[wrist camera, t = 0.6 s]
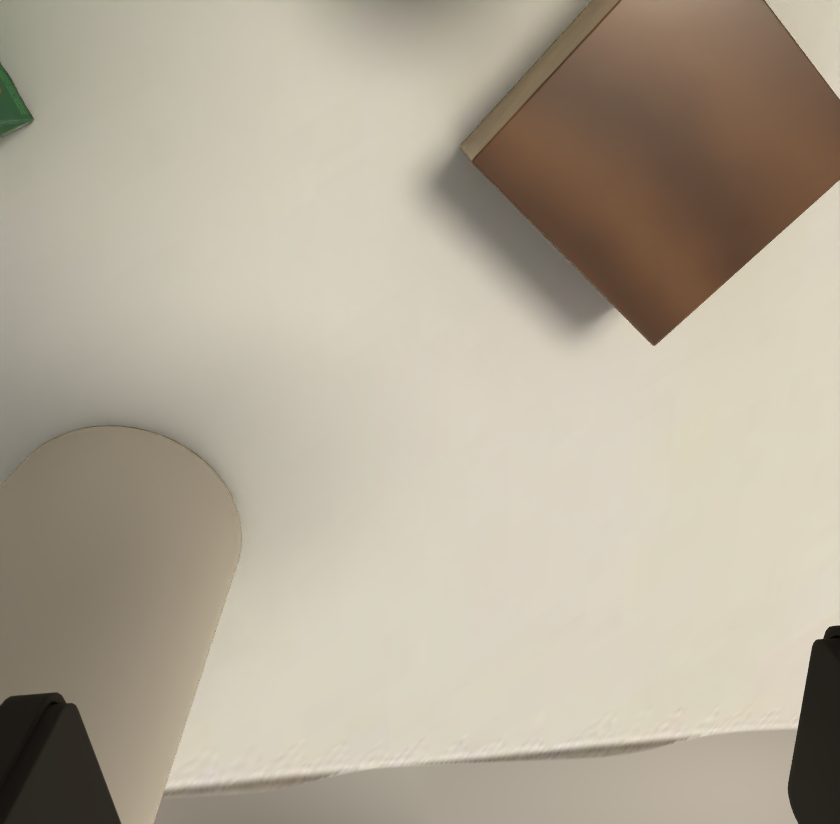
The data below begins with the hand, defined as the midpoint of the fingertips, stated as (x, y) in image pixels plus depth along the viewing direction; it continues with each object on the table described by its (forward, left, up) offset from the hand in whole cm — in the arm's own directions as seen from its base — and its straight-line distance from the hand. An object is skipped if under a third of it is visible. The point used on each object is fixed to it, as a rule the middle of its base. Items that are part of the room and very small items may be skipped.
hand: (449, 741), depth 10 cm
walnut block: (-10, +4, -29) cm, 31 cm away
